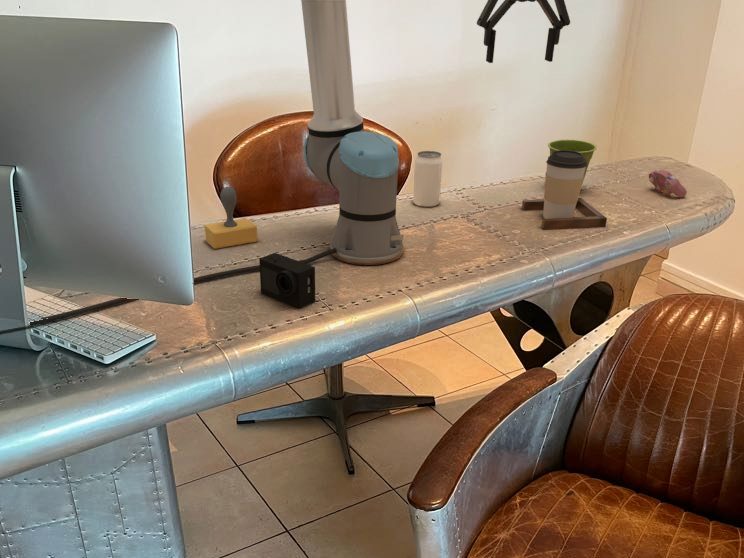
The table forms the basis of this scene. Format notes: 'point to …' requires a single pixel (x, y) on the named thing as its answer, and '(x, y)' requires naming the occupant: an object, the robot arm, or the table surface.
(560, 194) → the coffee cup
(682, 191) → the video game controller
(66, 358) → the table surface
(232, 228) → the rubber stamp
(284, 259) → the digital camera
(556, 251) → the table surface
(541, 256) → the table surface
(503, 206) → the table surface
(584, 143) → the plant pot
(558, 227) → the frame
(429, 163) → the can
